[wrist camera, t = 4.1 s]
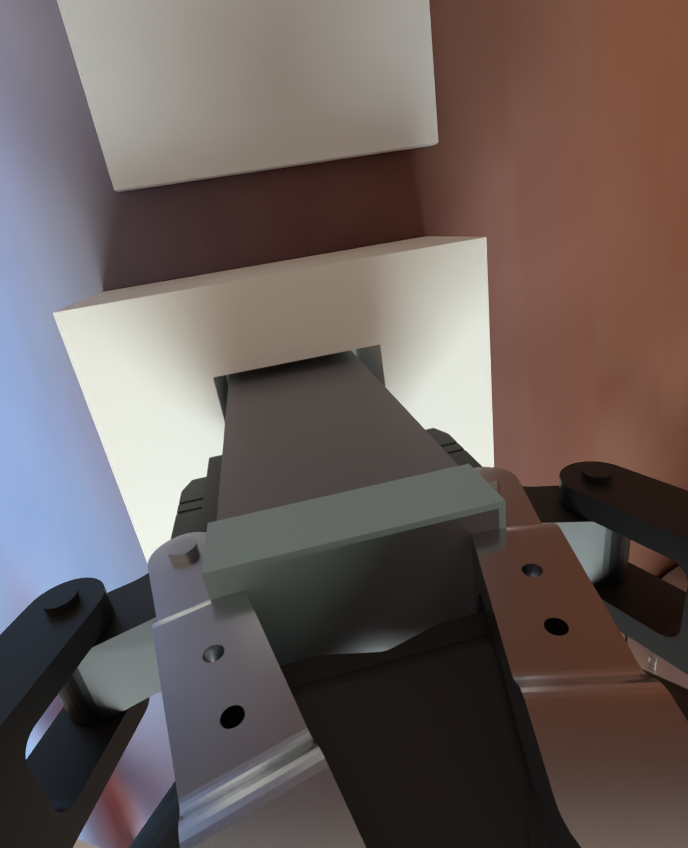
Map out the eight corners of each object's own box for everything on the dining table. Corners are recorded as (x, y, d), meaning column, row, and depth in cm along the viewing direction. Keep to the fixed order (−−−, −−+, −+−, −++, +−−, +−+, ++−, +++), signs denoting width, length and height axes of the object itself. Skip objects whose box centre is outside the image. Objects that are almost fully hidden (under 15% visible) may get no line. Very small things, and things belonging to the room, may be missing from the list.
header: (426, 236, 19) (486, 237, 14) (444, 465, 23) (496, 524, 18) (102, 291, 17) (52, 312, 13) (181, 527, 21) (164, 608, 16)
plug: (342, 336, 18) (505, 500, 7) (357, 439, 19) (509, 708, 8) (227, 357, 17) (201, 573, 6) (252, 462, 19) (267, 779, 8)
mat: (411, -160, 15) (417, -174, 14) (432, 145, 18) (438, 142, 17) (21, -134, 13) (11, -150, 13) (118, 192, 16) (114, 190, 16)
